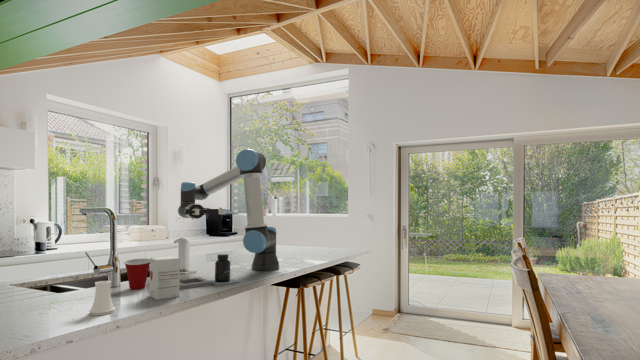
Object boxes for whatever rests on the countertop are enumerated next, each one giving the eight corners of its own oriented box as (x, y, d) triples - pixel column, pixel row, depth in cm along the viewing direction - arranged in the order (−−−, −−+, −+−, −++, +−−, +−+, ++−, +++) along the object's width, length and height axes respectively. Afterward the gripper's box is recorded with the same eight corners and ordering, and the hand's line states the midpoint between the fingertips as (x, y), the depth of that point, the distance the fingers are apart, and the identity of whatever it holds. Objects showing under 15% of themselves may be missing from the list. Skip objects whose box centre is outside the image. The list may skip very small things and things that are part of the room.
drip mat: (228, 279, 195) (228, 278, 195) (239, 282, 186) (239, 281, 186) (206, 282, 188) (206, 280, 188) (216, 285, 179) (216, 284, 179)
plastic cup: (118, 291, 168) (119, 262, 169) (129, 286, 179) (130, 258, 180) (145, 291, 169) (145, 261, 169) (154, 286, 179) (155, 258, 180)
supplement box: (148, 296, 160) (149, 257, 161) (171, 292, 166) (172, 255, 166) (155, 300, 153) (156, 259, 154) (179, 296, 159) (180, 257, 159)
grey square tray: (199, 280, 192) (199, 277, 192) (212, 284, 181) (212, 281, 181) (169, 284, 183) (169, 280, 183) (181, 289, 172) (181, 285, 173)
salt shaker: (102, 316, 131) (102, 284, 132) (83, 314, 133) (84, 283, 134) (120, 310, 138) (120, 280, 139) (102, 308, 141) (103, 279, 141)
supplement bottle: (228, 282, 184) (228, 255, 184) (212, 282, 184) (213, 255, 184) (231, 279, 190) (231, 253, 191) (217, 279, 191) (217, 253, 191)
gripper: (216, 217, 222) (235, 218, 206) (170, 219, 207) (186, 220, 190) (217, 204, 223) (235, 203, 206) (170, 204, 207) (186, 204, 191)
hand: (211, 211), depth 198 cm, fingers open, 13 cm apart
